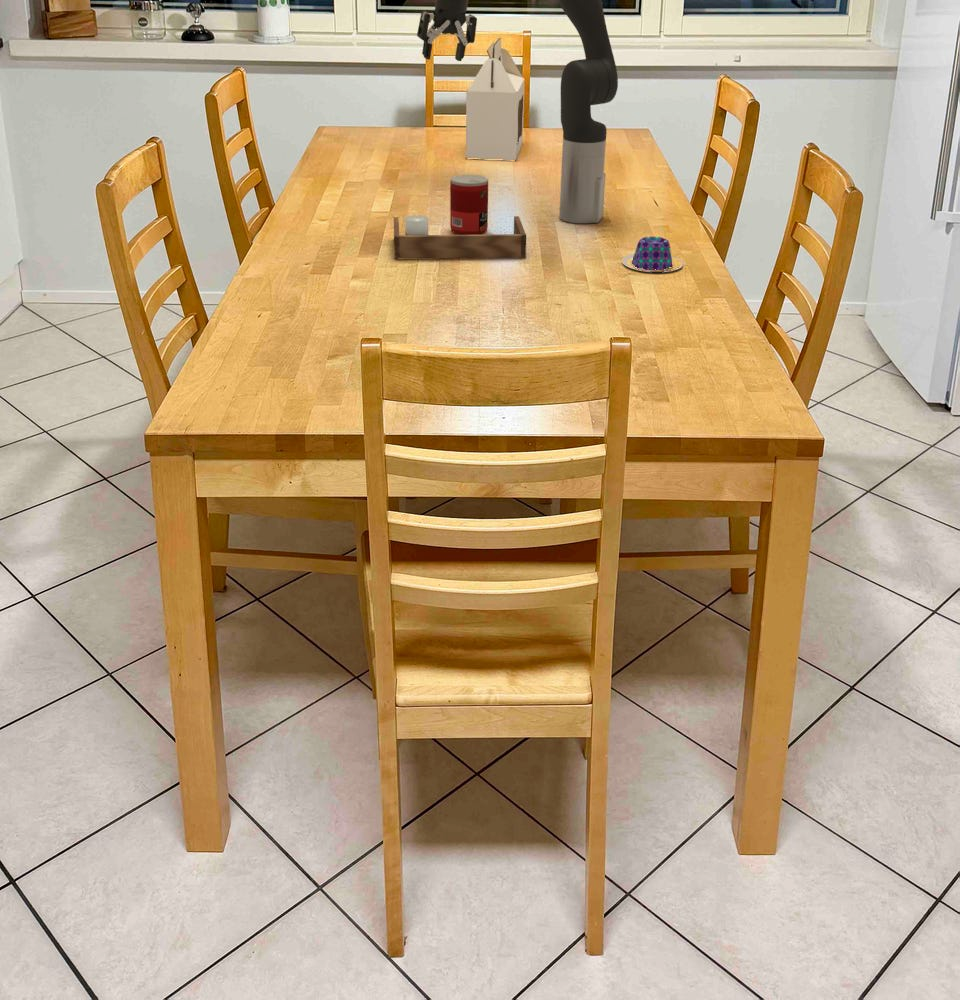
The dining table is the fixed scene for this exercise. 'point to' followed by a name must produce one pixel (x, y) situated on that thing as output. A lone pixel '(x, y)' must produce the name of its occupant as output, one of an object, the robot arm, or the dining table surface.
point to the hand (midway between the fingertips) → (442, 59)
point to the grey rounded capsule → (416, 225)
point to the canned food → (469, 204)
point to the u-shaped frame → (461, 244)
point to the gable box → (495, 108)
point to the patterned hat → (652, 255)
